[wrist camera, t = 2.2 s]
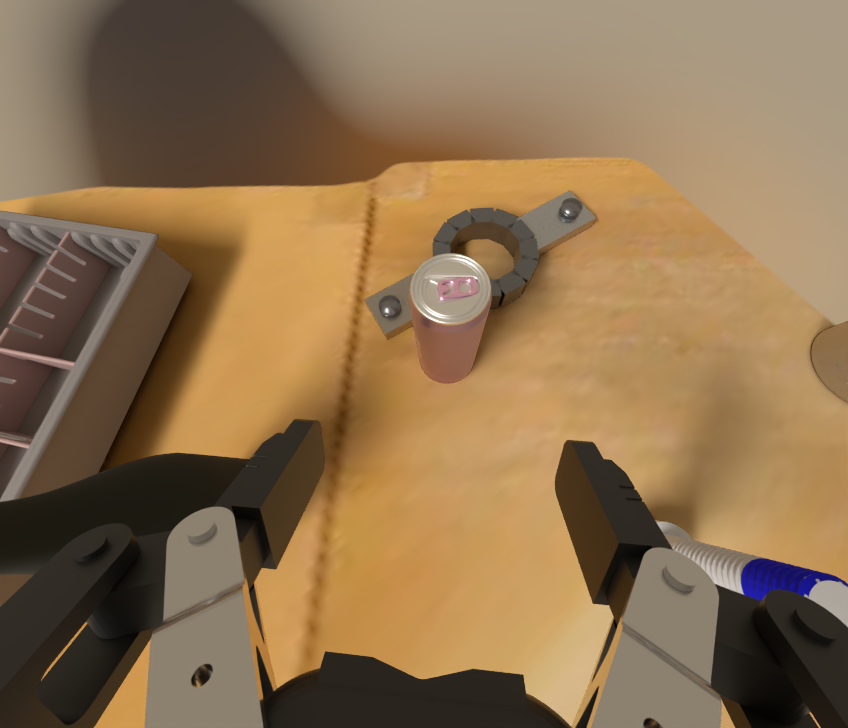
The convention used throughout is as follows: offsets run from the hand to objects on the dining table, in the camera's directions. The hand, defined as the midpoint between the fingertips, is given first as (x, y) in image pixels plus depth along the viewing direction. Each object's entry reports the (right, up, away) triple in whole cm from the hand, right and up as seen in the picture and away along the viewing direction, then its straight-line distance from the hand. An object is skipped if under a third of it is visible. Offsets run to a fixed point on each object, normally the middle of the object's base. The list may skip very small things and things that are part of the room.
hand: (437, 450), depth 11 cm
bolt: (+20, -14, +20) cm, 31 cm away
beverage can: (+2, +3, +27) cm, 27 cm away
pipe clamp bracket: (+7, +15, +30) cm, 34 cm away
